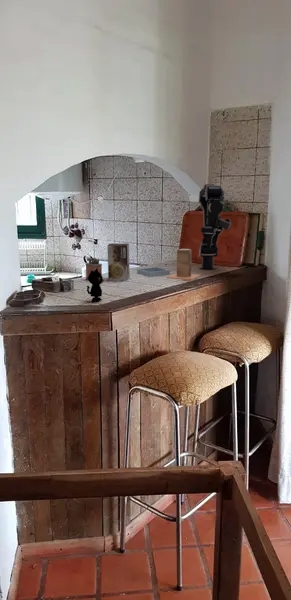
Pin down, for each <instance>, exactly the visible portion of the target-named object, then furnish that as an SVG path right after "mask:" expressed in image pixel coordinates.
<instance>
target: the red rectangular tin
mask: <svg viewBox="0 0 291 600" xmlns="http://www.w3.org/2000/svg"><path fill="white" fill-rule="evenodd" d="M86 261H87V262H85V263H84V264H85V280H86V281H89V280H88V276H89V274H90V273H91V271H93V272H94V271H95V270H96V269H97V268H98V272H99V273H100V274H101V275H102V276H103V272H102V271H103V270H102V268H103V267H102V266H103V264H102V263H100V258H96V257H93V258H92V257H87V258H86Z"/></svg>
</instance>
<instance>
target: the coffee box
mask: <svg viewBox="0 0 291 600" xmlns="http://www.w3.org/2000/svg"><path fill="white" fill-rule="evenodd" d="M107 270H108V271H107V274H108V275H107V277H108V278H107V279H108V280H107V281H109V282H125V281H129V279H130V278H131V276H130V275H131V274H130V271H131V270H130V244H129V243H108V244H107Z"/></svg>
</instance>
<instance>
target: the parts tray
mask: <svg viewBox="0 0 291 600" xmlns="http://www.w3.org/2000/svg"><path fill="white" fill-rule="evenodd" d="M136 274H137V275H142V276H145V277H146V276H147V277H149V278H152V277H158V276H159V277H160V276H170V275H171V270H170V269H166V268H162V267H159V266H153V267H152V266H151V267H142V268H137V269H136Z"/></svg>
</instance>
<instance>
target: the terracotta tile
mask: <svg viewBox="0 0 291 600" xmlns="http://www.w3.org/2000/svg"><path fill="white" fill-rule="evenodd" d="M201 277H202V274H193V273H191V276H189V277H179V276H177V272H176V273H174V274H170V275H167V276H166V279H172V280H173V279H174V280H180V281H184V282H193V281H195V280H197V279H199V278H201Z"/></svg>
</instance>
